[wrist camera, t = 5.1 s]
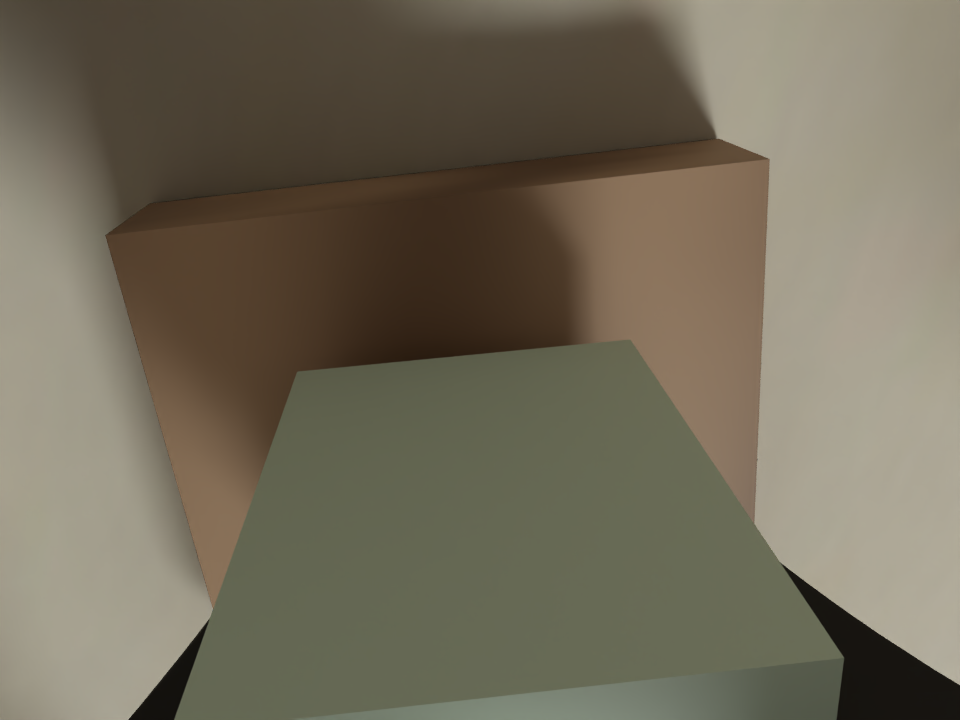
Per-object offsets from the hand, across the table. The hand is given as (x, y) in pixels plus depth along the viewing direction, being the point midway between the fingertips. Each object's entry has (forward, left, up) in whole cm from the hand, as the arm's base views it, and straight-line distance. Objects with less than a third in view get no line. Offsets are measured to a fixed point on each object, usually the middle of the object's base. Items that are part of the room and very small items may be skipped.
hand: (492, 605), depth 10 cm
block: (0, 0, -2) cm, 2 cm away
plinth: (0, 0, -5) cm, 5 cm away
